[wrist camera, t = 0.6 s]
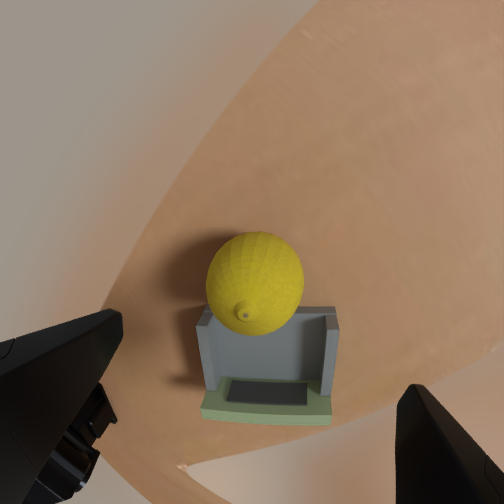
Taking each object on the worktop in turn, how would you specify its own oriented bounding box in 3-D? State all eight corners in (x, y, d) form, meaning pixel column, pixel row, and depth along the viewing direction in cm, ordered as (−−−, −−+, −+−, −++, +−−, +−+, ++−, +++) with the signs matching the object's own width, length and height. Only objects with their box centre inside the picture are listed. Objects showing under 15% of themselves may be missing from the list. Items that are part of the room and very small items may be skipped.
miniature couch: (216, 378, 26) (202, 418, 21) (206, 304, 23) (186, 340, 19) (326, 382, 24) (329, 425, 20) (334, 306, 22) (342, 345, 17)
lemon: (273, 307, 23) (262, 378, 15) (210, 266, 22) (169, 323, 15) (318, 248, 21) (330, 303, 13) (250, 203, 21) (223, 234, 13)
